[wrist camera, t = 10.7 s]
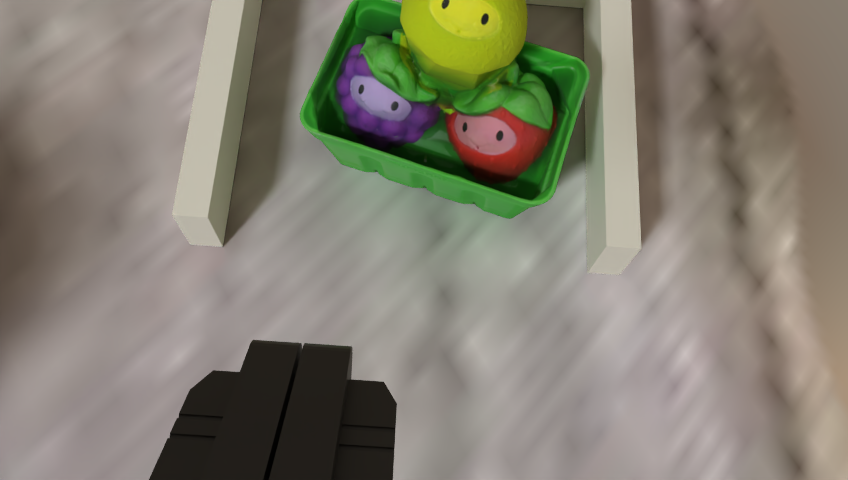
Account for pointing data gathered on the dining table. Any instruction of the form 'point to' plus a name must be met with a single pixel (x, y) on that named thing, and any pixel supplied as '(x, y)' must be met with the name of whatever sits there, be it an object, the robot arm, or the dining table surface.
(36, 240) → the dining table surface
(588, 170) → the corral
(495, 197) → the fruit basket
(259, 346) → the robot arm
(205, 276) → the dining table surface
